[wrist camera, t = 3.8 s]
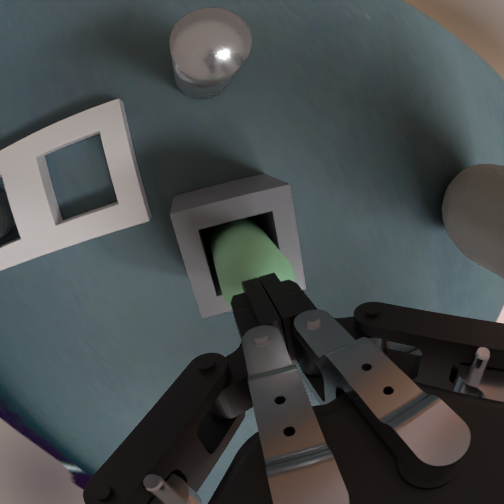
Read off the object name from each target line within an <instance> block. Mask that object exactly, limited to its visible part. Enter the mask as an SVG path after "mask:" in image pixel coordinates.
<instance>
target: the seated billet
mask: <svg viewBox="0 0 504 504" xmlns="http://www.w3.org/2000/svg"><path fill="white" fill-rule="evenodd" d="M14 221H15V220H14V217H13V214H12V211H11V207H10V204H9V201H8V197H7V194H6V193H5V192H4V191H2V190H0V238H1V237H3V236H4V235H6V234H7V233H8V232H9V231H10V230H11V229H12V227H13V224H14Z"/></svg>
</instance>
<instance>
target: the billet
mask: <svg viewBox="0 0 504 504" xmlns="http://www.w3.org/2000/svg"><path fill="white" fill-rule="evenodd" d="M251 47H252V36H251V32H250V30H249V28H248V26H247V24H246V23H245V22H244V21H243V20H242V19H241V18H240V17H239V16H238V15H236V14H235V13H233V12H231V11H228V10H226V9H222V8H215V7H209V8H202V9H198V10H195V11H192V12H190V13H188V14H187V15H185V16H184V17H183V18H181V19H180V20H179V21H178V22H177V24H176V25H175V26H174V28H173V30H172V33H171V36H170V52H171V59H172V65H173V72H174V78H175V82H176V85H177V87H178V88H179V90H180V91H181V92H182V93H183V94H185V95H186V96H188V97H190V98H194V99H208V98H211V97H214V96H216V95H217V94H219V93H220V92H221V91H222V90H223V89H224V88H225V86H226V85H227V84H228V82H229V81H230V80H231V79H232V77H233V76H234V75H235V73H236V72H237V71H238V69H239V68H240V67H241V66H242V64H243V63H244V62H245V61H246V59H247V58H248V56H249V54H250V51H251Z"/></svg>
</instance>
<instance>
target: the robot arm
mask: <svg viewBox="0 0 504 504" xmlns="http://www.w3.org/2000/svg"><path fill="white" fill-rule="evenodd" d="M241 283H242V288H243V292H244V293H241V294H237V295H234V296H233V297H232V300H231V307H232V310H233V314H234V317H235V321H236V324H237V328H238V331H239V334H240V337H241V340H242V342H241V344H240V346H239V348H238V349H237V350H236V351H235V352H233V353H232V354H230V355H228V356H226V357H224V356H223V355H221V354H218V353H207V354H203V355H200V356H198V357H196V358H195V359H194V360H192V361H191V362H190V364H189V365H188V366H187V367H186V368H185V370H184V371H183V372H182V373H181V374H180V376H179V377H178V378H177V379H176V380H175V382H174V383H173V384H172V385H171V386H170V388H169V389H168V390H167V391H166V392H165V393H164V395H163V396H162V397H161V398H160V399H159V401H158V402H157V403H156V404H155V405H154V406H153V408H152V409H151V410H150V411H149V412H148V413H147V415H146V416H145V417H144V418H143V419H142V420H141V422H140V423H139V424H138V425H137V426H136V427H135V429H134V430H133V431H132V432H131V433H130V434H129V436H128V437H127V438H126V439H125V440H124V441H123V442H122V444H121V445H120V446H119V447H118V448H117V449H116V451H115V452H114V453H113V454H112V455H111V456H110V457H109V459H108V460H107V461H106V462H105V463H104V464H103V465H102V466H101V468H100V469H99V470H98V471H97V472H96V473H95V474H94V475H93V477H92V478H91V479H90V480H89V481H88V482H87V484H86V486H85V488H84V492H83V497H84V501H85V503H86V504H202V503H201V499H200V497H199V495H198V494H197V491H198V490H199V488H200V487H201V485H202V484H203V482H204V481H205V479H206V478H207V476H208V475H209V473H210V472H211V470H212V469H213V467H214V466H215V464H216V463H217V461H218V459H219V458H220V456H221V455H222V453H223V452H224V450H225V448H226V447H227V445H228V444H229V442H230V440H231V439H232V437H233V436H234V434H235V432H236V431H237V429H238V427H239V426H240V424H241V422H242V421H243V419H244V417H245V411H247V410H248V409H250V408H252V407H253V408H254V413H255V417H256V422H257V427H258V432H257V433H255V434H254V435H253V436H251V437H250V438H249V439H248V440H247V441H246V442H245V443H244V444H243V445H242V447H241V448H240V449H239V450H238V452H237V454H236V455H235V457H234V459H233V461H232V463H231V464H230V466H229V468H228V470H227V472H226V473H225V475H224V477H223V479H222V480H221V482H220V484H219V485H218V487H217V489H216V491H215V492H214V494H213V496H212V497H211V499H210V501H209V502H208V504H504V324H503V323H497V322H490V321H484V320H478V319H471V318H465V317H459V316H453V315H447V314H442V313H436V312H430V311H424V310H418V309H413V308H407V307H402V306H396V305H391V304H385V303H380V302H367V303H364V304H361V305H359V306H358V307H357V308H356V309H355V311H354V317H347V318H333V317H332V316H331V315H330V314H329V313H328V312H326V311H323V310H318V309H317V308H316V307H315V306H314V304H313V303H312V302H311V300H310V299H309V298H308V297H307V295H305V293H304V292H303V290H302V289H301V288H300V286H299V285H298V284H297V283H295V282H293V281H291V280H289V279H288V280H285V281H280V280H279V278H278V277H277V275H276V274H275V273H270V274H267V275H263V276H260V277H258V278H257V277H256V278H253V279H249V280H246V281H242V282H241ZM389 341H392V342H396V343H401V344H406V345H410V346H415V347H417V348H418V349H417V350H414V351H412V352H410V353H405V352H400V351H396V350H391V349H388V346H389ZM295 364H299V366H300V367H301V374H302V378H303V380H304V381H305V383H306V384H307V386H308V387H309V389H310V390H311V392H312V393H313V395H314V396H315V398H316V399H317V401H318V402H319V404H320V405H318V406H311V403H310V401H309V398H308V395H307V393H306V390H305V388H304V385H303V383H302V380H301V378H300V375H299V372H298V370H297V368H296V366H295Z"/></svg>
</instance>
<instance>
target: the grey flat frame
mask: <svg viewBox="0 0 504 504" xmlns="http://www.w3.org/2000/svg"><path fill="white" fill-rule="evenodd" d="M97 134H100V135H101V139H102V143H103V148H104V152H105V156H106V160H107V164H108V168H109V171H110V175H111V179H112V182H113V186H114V190H115V193H116V197H117V200H118V202H115V203H112V204H109V205H106V206H103V207H100V208H97V209H94V210H91V211H88V212H85V213H82V214H79V215H77V216H74V217H71V218H68V219H65V220H63V219H62V216H61V213H60V210H59V206H58V203H57V200H56V197H55V193H54V190H53V186H52V183H51V179H50V175H49V171H48V167H47V163H46V159H45V155H47V154H50V153H52V152H54V151H56V150H59V149H61V148H64V147H66V146H68V145H71V144H73V143H76V142H78V141H81V140H83V139H86V138H89V137H91V136H94V135H97ZM0 177H2V178H3V182H4V186H5V190H6V193H7V197H8V201H9V204H10V207H11V211H12V214H13V217H14V220H15V223H16V226H17V229H18V232H19V235H20V237H19V238H17V239H14V240H12V241H9V242H7V243H5V244H2V245H0V271H1V270H4V269H6V268H9V267H12V266H14V265H17V264H20V263H23V262H25V261H28V260H31V259H34V258H36V257H39V256H42V255H45V254H48V253H51V252H54V251H56V250H59V249H62V248H65V247H68V246H71V245H74V244H77V243H80V242H83V241H86V240H90V239H93V238H96V237H99V236H102V235H105V234H108V233H112V232H115V231H118V230H121V229H125V228H128V227H131V226H135V225H138V224H142V223H145V222H148V221H150V219H151V216H152V215H151V212H150V208H149V205H148V201H147V198H146V194H145V190H144V187H143V183H142V179H141V175H140V172H139V168H138V164H137V160H136V156H135V152H134V148H133V144H132V139H131V135H130V131H129V126H128V122H127V117H126V113H125V108H124V103H123V101H122V100H120V99H116V100H113V101H110V102H107V103H104V104H101V105H99V106H96V107H93V108H91V109H88V110H85V111H83V112H80V113H78V114H75V115H73V116H70V117H68V118H66V119H63V120H61V121H59V122H56V123H54V124H52V125H50V126H48V127H45V128H43V129H41V130H39V131H37V132H35V133H33V134H31V135H29V136H27V137H25V138H23V139H21V140H19V141H17V142H15V143H13V144H12V145H10V146H8V147H6V148H4V149H2V150H1V151H0Z"/></svg>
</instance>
